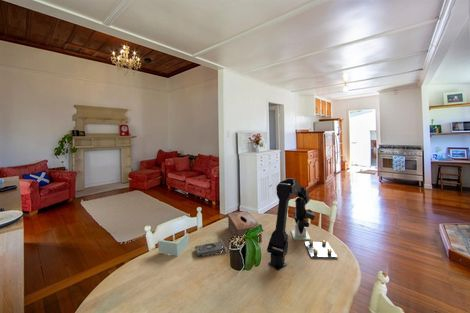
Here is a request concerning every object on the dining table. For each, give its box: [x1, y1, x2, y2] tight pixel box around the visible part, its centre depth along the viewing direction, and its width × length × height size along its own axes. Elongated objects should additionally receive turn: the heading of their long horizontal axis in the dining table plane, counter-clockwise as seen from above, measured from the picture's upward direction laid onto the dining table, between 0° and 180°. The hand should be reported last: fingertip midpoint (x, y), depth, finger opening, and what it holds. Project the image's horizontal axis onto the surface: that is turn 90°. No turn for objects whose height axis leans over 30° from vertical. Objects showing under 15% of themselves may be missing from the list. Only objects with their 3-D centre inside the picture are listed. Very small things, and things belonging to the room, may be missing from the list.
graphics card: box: [194, 238, 228, 257], centre depth 120 cm, size 17×4×12 cm
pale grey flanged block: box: [290, 224, 312, 242], centre depth 133 cm, size 12×10×6 cm
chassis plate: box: [303, 239, 338, 260], centre depth 116 cm, size 15×13×3 cm
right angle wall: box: [157, 232, 190, 257], centre depth 122 cm, size 12×12×8 cm
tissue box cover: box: [227, 210, 263, 243], centre depth 138 cm, size 26×14×10 cm, turn 15°
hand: (300, 231), depth 133 cm, fingers closed on pale grey flanged block, 4 cm apart
